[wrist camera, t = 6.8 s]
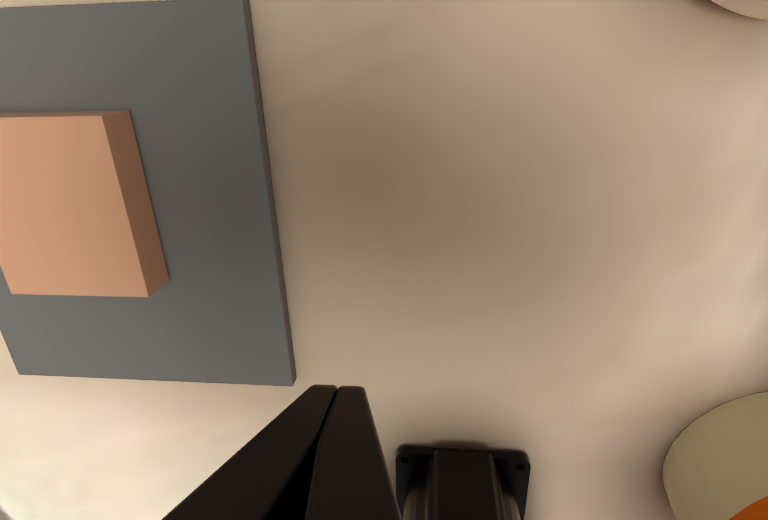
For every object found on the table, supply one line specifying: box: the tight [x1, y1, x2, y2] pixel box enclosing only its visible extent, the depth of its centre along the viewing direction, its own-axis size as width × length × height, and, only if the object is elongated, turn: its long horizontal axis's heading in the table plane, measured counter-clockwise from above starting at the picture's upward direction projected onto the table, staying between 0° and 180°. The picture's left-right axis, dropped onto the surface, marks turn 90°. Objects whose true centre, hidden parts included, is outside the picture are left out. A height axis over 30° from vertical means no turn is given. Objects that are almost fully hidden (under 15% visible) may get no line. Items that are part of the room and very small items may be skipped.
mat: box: [0, 0, 296, 386], centre depth 20 cm, size 16×14×1 cm
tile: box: [0, 110, 169, 297], centre depth 19 cm, size 7×2×6 cm
